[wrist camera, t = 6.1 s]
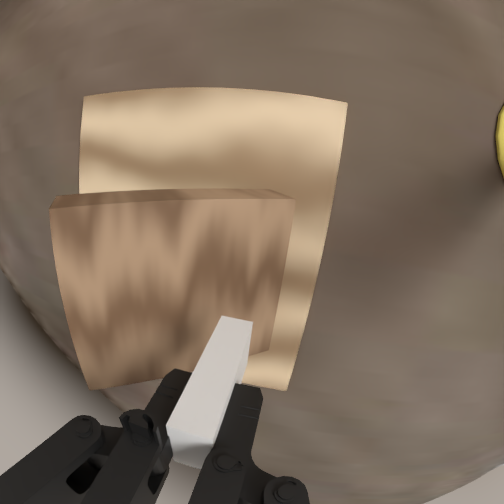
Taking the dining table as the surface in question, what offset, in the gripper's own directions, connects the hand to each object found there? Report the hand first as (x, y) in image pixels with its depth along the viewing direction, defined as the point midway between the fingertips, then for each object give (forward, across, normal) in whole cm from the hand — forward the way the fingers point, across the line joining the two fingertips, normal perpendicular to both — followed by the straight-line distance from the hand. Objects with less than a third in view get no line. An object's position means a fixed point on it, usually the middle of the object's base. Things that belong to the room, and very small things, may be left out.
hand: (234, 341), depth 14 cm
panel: (+8, +1, 0) cm, 8 cm away
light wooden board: (+10, -7, 0) cm, 12 cm away
